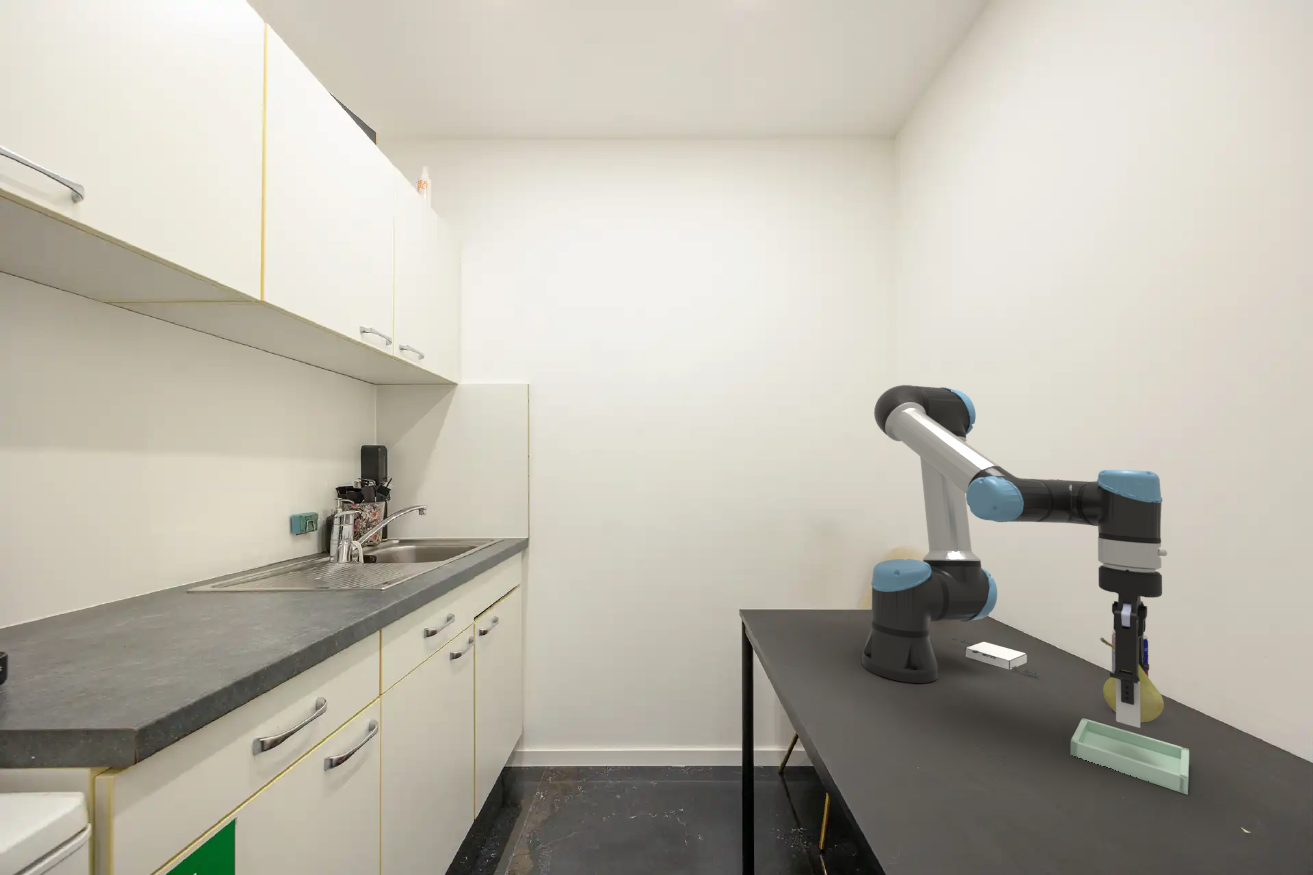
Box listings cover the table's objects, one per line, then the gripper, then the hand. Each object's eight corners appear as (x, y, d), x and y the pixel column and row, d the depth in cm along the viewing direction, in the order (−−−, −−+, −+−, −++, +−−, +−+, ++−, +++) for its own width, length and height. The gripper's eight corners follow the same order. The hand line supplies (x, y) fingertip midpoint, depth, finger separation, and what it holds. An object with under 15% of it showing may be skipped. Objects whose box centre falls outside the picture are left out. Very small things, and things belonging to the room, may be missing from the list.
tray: (1070, 755, 83) (1070, 740, 83) (1082, 730, 92) (1082, 717, 92) (1187, 794, 74) (1187, 778, 74) (1189, 763, 82) (1189, 748, 82)
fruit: (1172, 734, 78) (1172, 651, 79) (1109, 723, 81) (1109, 643, 82) (1149, 715, 85) (1148, 638, 85) (1091, 706, 87) (1091, 631, 88)
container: (1054, 671, 120) (1054, 659, 121) (1033, 681, 114) (1034, 669, 114) (960, 644, 137) (961, 634, 137) (938, 652, 130) (938, 641, 130)
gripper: (1158, 579, 75) (1160, 747, 73) (1164, 565, 88) (1166, 707, 87) (1089, 570, 80) (1090, 726, 79) (1106, 558, 94) (1106, 691, 92)
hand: (1130, 716), depth 83 cm, fingers closed on fruit, 7 cm apart
